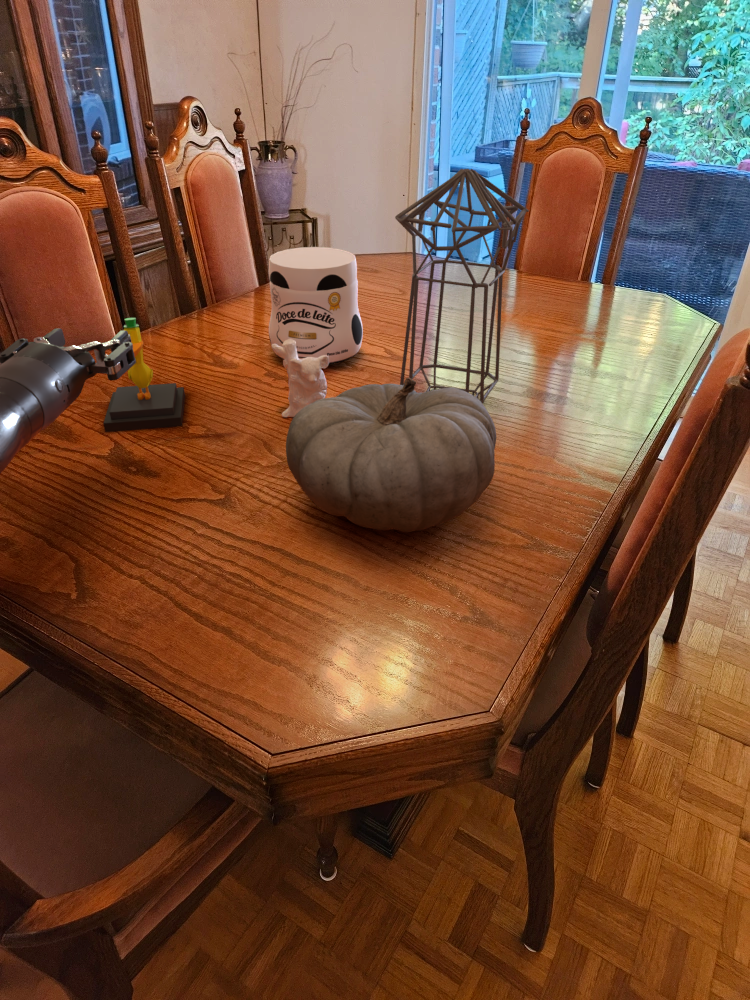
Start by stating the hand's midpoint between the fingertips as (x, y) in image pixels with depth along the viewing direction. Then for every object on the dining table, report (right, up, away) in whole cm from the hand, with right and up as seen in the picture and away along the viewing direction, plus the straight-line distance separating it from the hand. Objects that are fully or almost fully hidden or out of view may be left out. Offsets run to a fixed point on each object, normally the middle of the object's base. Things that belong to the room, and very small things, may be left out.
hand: (93, 336), depth 85 cm
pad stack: (+1, -8, +18) cm, 20 cm away
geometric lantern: (+48, -7, +21) cm, 53 cm away
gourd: (+38, -22, -1) cm, 44 cm away
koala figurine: (+25, -8, +20) cm, 33 cm away
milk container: (+25, +6, +40) cm, 48 cm away
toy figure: (+1, -5, +16) cm, 17 cm away
